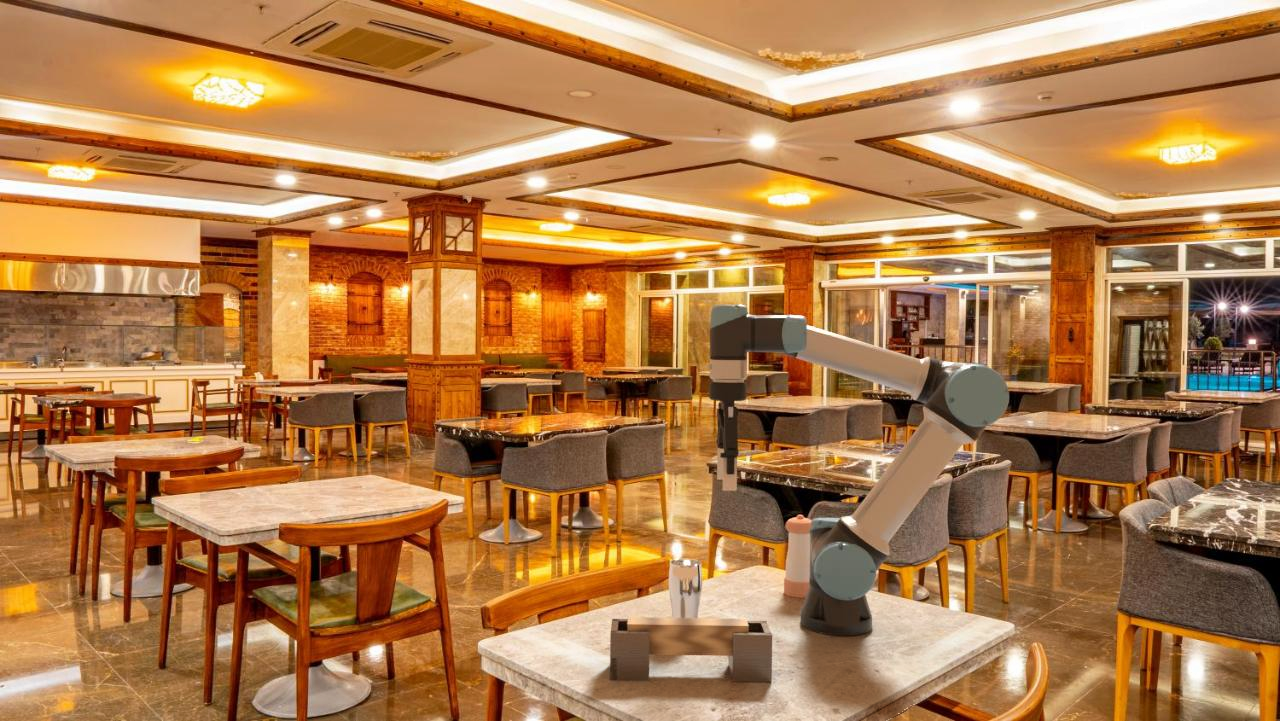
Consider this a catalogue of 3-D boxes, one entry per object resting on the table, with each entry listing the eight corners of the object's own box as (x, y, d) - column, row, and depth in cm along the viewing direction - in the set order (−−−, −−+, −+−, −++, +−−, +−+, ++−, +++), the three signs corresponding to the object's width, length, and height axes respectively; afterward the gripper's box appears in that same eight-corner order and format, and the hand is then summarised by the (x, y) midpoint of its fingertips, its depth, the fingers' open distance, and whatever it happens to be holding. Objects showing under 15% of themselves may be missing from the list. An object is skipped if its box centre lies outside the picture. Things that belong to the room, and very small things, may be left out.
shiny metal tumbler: (699, 640, 178) (700, 567, 178) (665, 637, 180) (666, 565, 179) (703, 629, 185) (704, 559, 185) (671, 626, 187) (671, 556, 186)
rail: (745, 648, 163) (746, 618, 163) (748, 655, 159) (748, 625, 159) (627, 646, 163) (627, 617, 163) (627, 654, 159) (627, 624, 159)
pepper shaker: (783, 597, 209) (785, 517, 209) (783, 588, 216) (785, 511, 216) (814, 598, 208) (816, 518, 208) (813, 590, 215) (815, 512, 215)
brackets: (765, 665, 165) (766, 620, 165) (771, 682, 157) (772, 635, 157) (611, 663, 165) (612, 618, 165) (610, 679, 157) (610, 633, 157)
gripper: (705, 377, 191) (704, 474, 191) (714, 383, 166) (712, 495, 166) (739, 378, 191) (738, 475, 191) (753, 384, 166) (752, 495, 166)
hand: (726, 484), depth 179 cm, fingers open, 13 cm apart
